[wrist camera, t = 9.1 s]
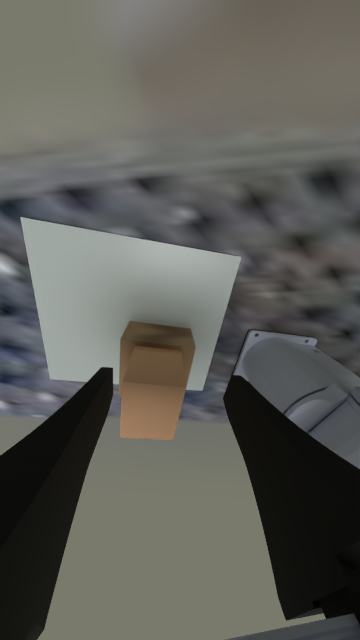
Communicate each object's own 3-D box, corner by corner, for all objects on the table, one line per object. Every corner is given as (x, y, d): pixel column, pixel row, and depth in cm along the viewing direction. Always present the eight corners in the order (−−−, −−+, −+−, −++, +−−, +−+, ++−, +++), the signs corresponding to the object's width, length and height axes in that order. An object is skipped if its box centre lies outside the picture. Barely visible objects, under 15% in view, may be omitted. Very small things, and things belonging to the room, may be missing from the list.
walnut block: (190, 328, 20) (195, 347, 16) (180, 374, 22) (183, 400, 19) (129, 321, 19) (120, 339, 15) (127, 370, 21) (118, 395, 18)
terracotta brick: (181, 350, 16) (186, 387, 12) (172, 396, 18) (173, 439, 14) (134, 345, 15) (122, 381, 11) (131, 393, 18) (119, 437, 14)
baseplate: (238, 256, 17) (241, 257, 17) (201, 386, 24) (202, 390, 24) (27, 218, 15) (20, 217, 14) (54, 374, 22) (50, 379, 21)
